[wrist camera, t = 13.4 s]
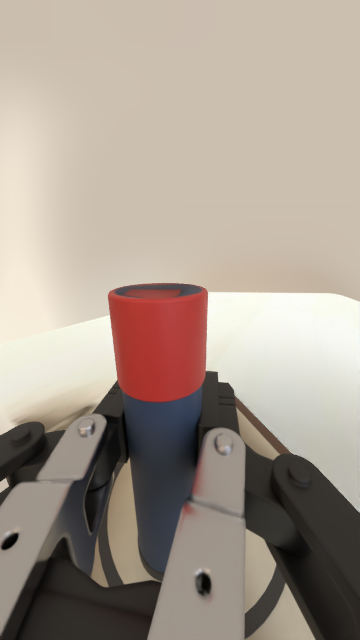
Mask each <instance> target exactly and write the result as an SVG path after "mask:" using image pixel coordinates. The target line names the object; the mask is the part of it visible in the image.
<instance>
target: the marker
mask: <svg viewBox="0 0 360 640" xmlns="http://www.w3.org/2000/svg"><path fill="white" fill-rule="evenodd" d="M108 301H109V310H110V318H111V327H112V336H113V344H114V353H115V361H116V370H117V379H118V384H119V386H120V388H121V389H122V394H123V403H124V412H125V421H126V430H127V439H128V448H129V457H130V467H131V476H132V485H133V494H134V503H135V512H136V521H137V530H138V549H139V555H140V559H141V562H142V564H143V567H144V568H145V570H146V571H147V572H148V574H149V575H150V576H152V577H153V578H154V579H156V580H158V581H161V582H162V581H163V578H164V574H165V570H166V566H167V562H168V559H169V555H170V551H171V547H172V544H173V540H174V536H175V532H176V528H177V525H178V521H179V517H180V513H181V510H182V506H183V503H184V501H185V499H186V498H188V497H189V494H190V491H191V487H192V483H193V479H194V475H195V471H196V467H197V462H198V424H199V417H200V414H201V410H202V384H203V382H204V379H205V373H206V340H207V307H208V292H207V290H206V289H205V288H203V287H200V286H196V285H189V284H178V283H177V284H176V283H152V284H138V285H131V286H124V287H120V288H116V289H114V290H112V291H110V292H109V294H108Z"/></svg>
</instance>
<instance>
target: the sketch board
mask: <svg viewBox="0 0 360 640" xmlns="http://www.w3.org/2000/svg"><path fill="white" fill-rule="evenodd" d="M235 402H236V409H237V416H238V423H239V430H240V435H241V438H242V440H243V441H244V443H245V444H246V445H247V446H248V447H249V448H250V449H251V450H253V451H254V452H256V453H258V454H260V455H262V456H264V457H267V458H269V459H272V460H274V459H275V458H276V457H277V456H279V455H281V454H292V453H291V452H290V451H289V450H288V449H287V448H286V447H285V446H284V445H283V444H282V443H281V442H280V441H279V440H278V439H277V438H276V437H275V436H274V435H273V434H272V433H271V432H270V431H269V430H268V429H267V428H266V427H265V426H264V425H263V424H262V423H261V422H260V421H259V420H258V419H257V418H256V417H255V416H254V415H253V414H252V413H251V412H250V411H249V410H248V409H247V408H246V407H245V406H244V405H243V403H242V402H241V401H240V400H239V399H238V398H237V397H236V396H235ZM91 578H92V579H93V580H94V581H96V582H97V583H98V584H99V585H101V586H103V587H112V586H118V585H124V584H130V583H136V582H142V581H148V580H154V581H158V580H156V579H154V578H153V577H152V576H150V575H149V574H148V572H147V571H146V570H145V568H144V567H143V564H142V562H141V559H140V555H139V549H138V530H137V521H136V512H135V503H134V494H133V485H132V476H131V467H130V457H129V459H128V462H127V463H120V462H118V463H117V465H116V468H115V470H114V482H113V485H112V488H111V492H110V495H109V499H108V502H107V506H106V509H105V513H104V516H103V519H102V523H101V526H100V530H99V533H98V537H97V541H96V547H95V560H94V567H93V573H92V577H91ZM159 582H161V581H159ZM244 640H315V638H314V636H313V634H312V632H311V630H310V628H309V626H308V624H307V622H306V620H305V618H304V616H303V615H302V613H301V611H300V609H299V607H298V605H297V603H296V601H295V599H294V597H293V595H292V593H291V591H290V589H289V587H288V586H287V584H286V582H285V580H284V578H283V576H282V574H281V572H280V570H279V568H278V566H277V564H276V562H275V560H274V558H273V556H272V555H271V553H270V551H269V549H268V547H267V545H266V542H265V540H264V539H263V538H261V537H260V536H258V535H256V534H254V533H253V532H251V531H249V530H248V529H246V553H245V629H244Z"/></svg>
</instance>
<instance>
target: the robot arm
mask: <svg viewBox="0 0 360 640" xmlns="http://www.w3.org/2000/svg"><path fill="white" fill-rule="evenodd" d="M128 459H129V448H128V439H127V430H126V421H125V412H124V403H123V394H122V389H121V388H120V386H119V384H118V380H117V381H116V383H115V384H114V385H113V387H112V388H111V389H110V391H109V392H108V394H107V395H106V396H105V397H104V398H103V400H102V401H101V402H100V404H99V405H98V406H97V408H96V409H95V410H94V412H93V413H92V414H88V415H84V416H82V417H80V418H78V419H76V420H75V421H74V422H72V423H71V424H70V426H69V427H68V428H67V430H61V431H55V432H48V433H46V432H45V428H44V425H43V424H42V423H40V422H28V423H24V424H21V425H19V426H17V427H15V428H13V429H11V430H9V431H8V432H6V433H4V434H2V435H0V481H2V480H3V479H5V478H6V479H7V482H8V484H9V487H8V488H6V489H5V490H4V491H2V492H1V493H0V640H244V629H245V553H246V529H248V530H249V531H251V532H253V533H254V534H256V535H258V536H260V537H261V538H263V539H264V540H265V542H266V545H267V547H268V549H269V551H270V553H271V555H272V556H273V558H274V560H275V562H276V564H277V566H278V568H279V570H280V572H281V574H282V576H283V578H284V580H285V582H286V584H287V586H288V587H289V589H290V591H291V593H292V595H293V597H294V599H295V601H296V603H297V605H298V607H299V609H300V611H301V613H302V615H303V616H304V618H305V620H306V622H307V624H308V626H309V628H310V630H311V632H312V634H313V636H314V638H315V640H360V513H359V512H358V511H357V510H356V509H355V508H354V507H353V506H352V505H351V504H350V502H349V501H348V500H347V499H346V498H345V497H344V496H343V495H342V494H341V493H340V492H339V491H338V490H337V489H336V488H335V487H334V485H333V484H332V483H331V482H330V481H329V480H328V479H327V478H326V477H325V476H324V475H323V474H322V473H321V472H320V471H319V469H318V468H317V467H315V466H314V465H313V464H312V463H311V462H309V461H308V460H306V459H304V458H302V457H300V456H298V455H294V454H281V455H279V456H277V457H276V458H275V459H274V460H272V459H269V458H267V457H264V456H262V455H260V454H258V453H256V452H254V451H253V450H251V449H250V448H249V447H248V446H247V445H246V444H245V443H244V441H243V440H242V438H241V435H240V430H239V423H238V416H237V409H236V402H235V395H234V390H233V388H232V387H231V386H230V385H229V383H222V382H218V372H212V371H206V373H205V379H204V382H203V384H202V410H201V414H200V417H199V424H198V462H197V467H196V471H195V475H194V479H193V483H192V487H191V491H190V494H189V497H188V498H186V499H185V501H184V503H183V506H182V510H181V513H180V517H179V521H178V525H177V528H176V532H175V536H174V540H173V544H172V547H171V551H170V555H169V559H168V562H167V566H166V570H165V574H164V578H163V581H162V582H159V581H154V580H148V581H142V582H136V583H130V584H124V585H118V586H112V587H103V586H101V585H99V584H98V583H97V582H96V581H94V580H93V579H92V578H91V577H92V573H93V567H94V560H95V547H96V541H97V537H98V533H99V530H100V526H101V523H102V519H103V516H104V513H105V509H106V506H107V502H108V499H109V495H110V492H111V488H112V485H113V482H114V470H115V468H116V465H117V463H118V462H120V463H127V462H128Z"/></svg>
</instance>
